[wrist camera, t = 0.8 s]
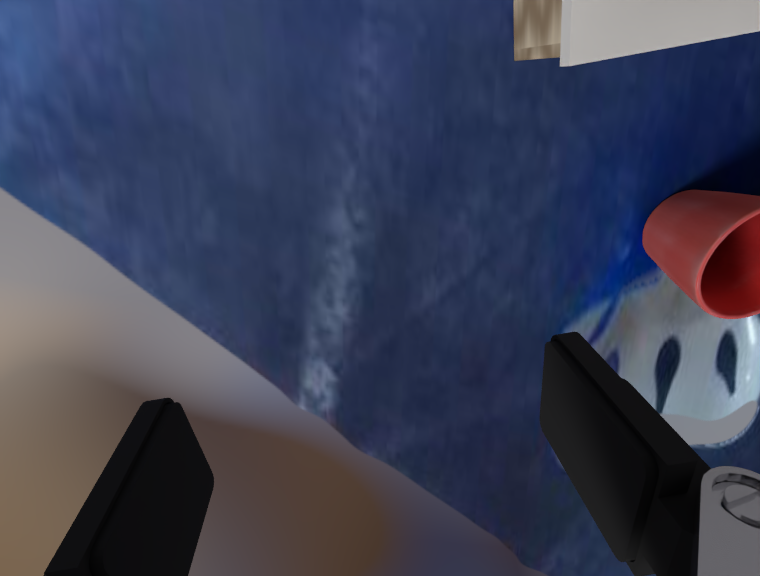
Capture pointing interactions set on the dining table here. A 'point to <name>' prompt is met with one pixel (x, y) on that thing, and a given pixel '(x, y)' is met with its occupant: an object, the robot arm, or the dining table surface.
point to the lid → (648, 25)
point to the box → (537, 29)
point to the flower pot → (709, 249)
